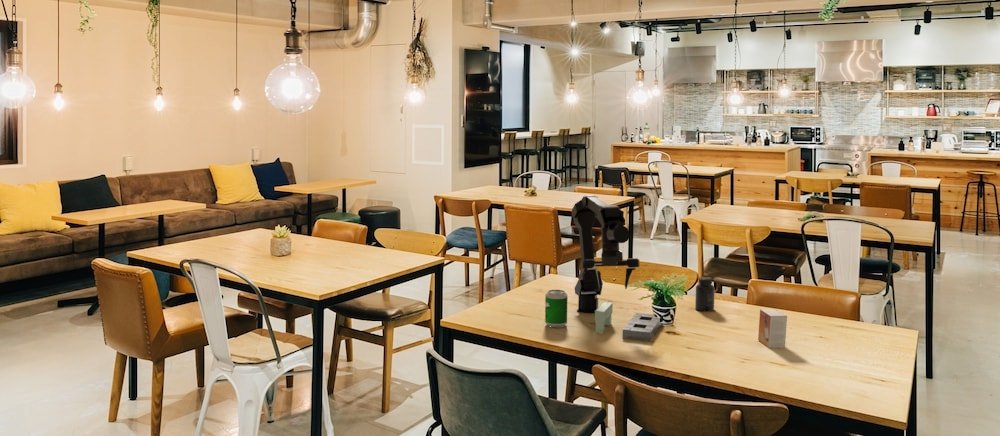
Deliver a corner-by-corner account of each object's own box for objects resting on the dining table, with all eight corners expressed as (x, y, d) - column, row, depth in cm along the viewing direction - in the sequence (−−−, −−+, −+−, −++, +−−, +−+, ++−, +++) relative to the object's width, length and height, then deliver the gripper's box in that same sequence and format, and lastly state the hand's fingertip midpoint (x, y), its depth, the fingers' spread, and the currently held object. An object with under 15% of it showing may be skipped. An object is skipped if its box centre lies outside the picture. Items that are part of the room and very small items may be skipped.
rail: (622, 338, 253) (622, 329, 252) (636, 320, 273) (636, 312, 272) (650, 341, 249) (650, 332, 249) (661, 323, 270) (662, 315, 269)
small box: (757, 340, 251) (759, 309, 249) (774, 340, 251) (776, 308, 250) (768, 348, 243) (770, 315, 242) (785, 347, 244) (787, 315, 242)
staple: (594, 332, 259) (595, 310, 258) (603, 323, 270) (604, 302, 269) (603, 333, 258) (604, 311, 257) (612, 323, 269) (612, 302, 268)
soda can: (570, 324, 269) (570, 290, 267) (562, 329, 262) (562, 295, 260) (549, 321, 272) (550, 288, 270) (541, 327, 265) (542, 292, 263)
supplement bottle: (712, 307, 292) (713, 276, 290) (715, 312, 285) (716, 280, 283) (693, 306, 292) (694, 275, 290) (696, 311, 286) (697, 279, 284)
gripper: (580, 244, 257) (581, 291, 256) (637, 242, 252) (639, 290, 252) (583, 243, 267) (585, 288, 267) (638, 241, 263) (640, 287, 263)
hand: (612, 289), depth 262 cm, fingers open, 9 cm apart
